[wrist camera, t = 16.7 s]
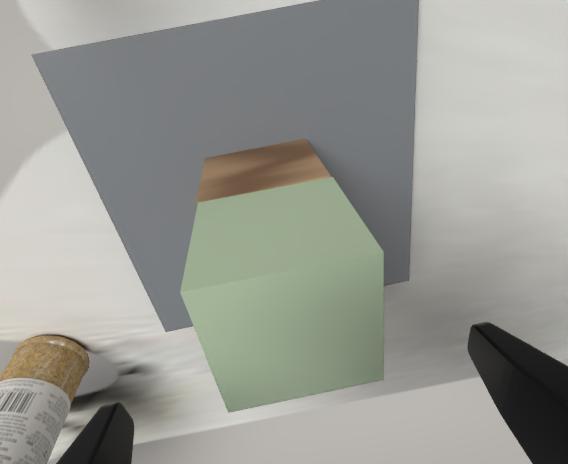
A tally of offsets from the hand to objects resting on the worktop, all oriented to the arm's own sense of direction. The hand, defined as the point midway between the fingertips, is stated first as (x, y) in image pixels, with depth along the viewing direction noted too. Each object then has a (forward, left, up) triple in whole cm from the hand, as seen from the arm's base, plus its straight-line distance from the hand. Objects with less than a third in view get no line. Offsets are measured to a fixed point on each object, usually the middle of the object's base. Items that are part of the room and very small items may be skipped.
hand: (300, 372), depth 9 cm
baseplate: (0, 0, -12) cm, 12 cm away
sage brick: (0, 0, -6) cm, 6 cm away
